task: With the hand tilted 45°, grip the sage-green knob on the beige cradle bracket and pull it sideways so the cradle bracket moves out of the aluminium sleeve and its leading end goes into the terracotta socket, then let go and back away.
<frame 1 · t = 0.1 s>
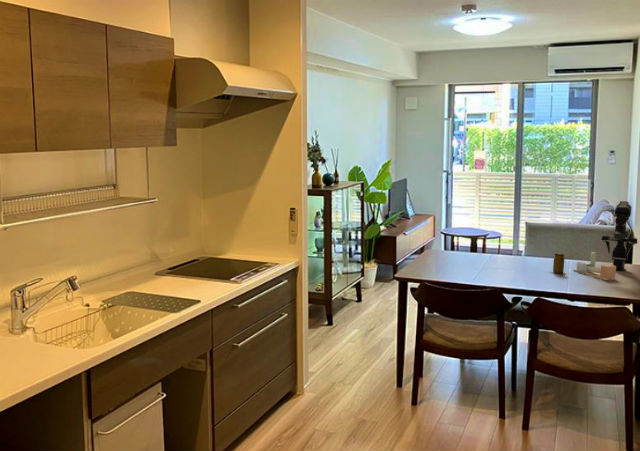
hand: (617, 254, 364), 15 cm above the table, tool pointing down, fingers open, 9 cm apart
condiment: (559, 273, 384), on the table
base rail: (593, 275, 380), on the table
beige cradle bracket: (591, 261, 381), point 8 cm above the table, slide at 0.0 cm
sleeve: (584, 272, 387), resting on base rail
socket: (607, 278, 370), resting on base rail
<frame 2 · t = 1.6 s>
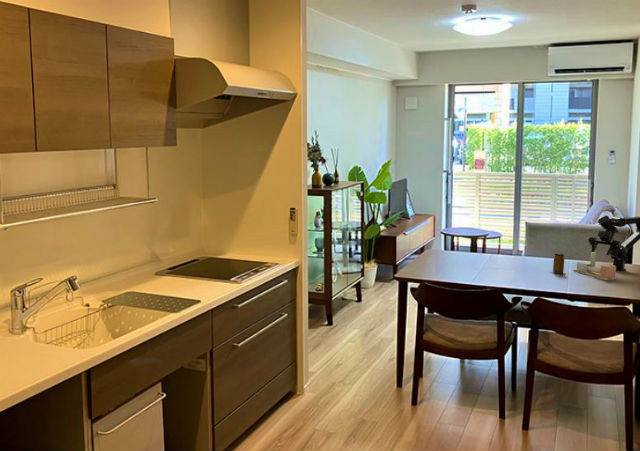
hand: (599, 254, 383), 12 cm above the table, tool tilted 45°, fingers open, 9 cm apart
nothing on the table moved.
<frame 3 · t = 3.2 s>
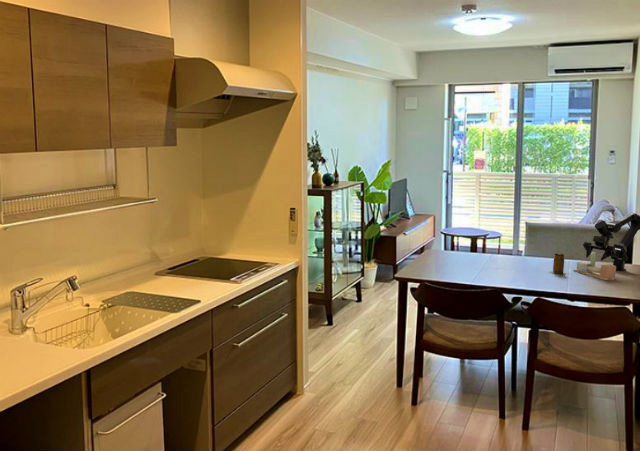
hand: (593, 259, 380), 9 cm above the table, tool tilted 45°, fingers open, 9 cm apart
nothing on the table moved.
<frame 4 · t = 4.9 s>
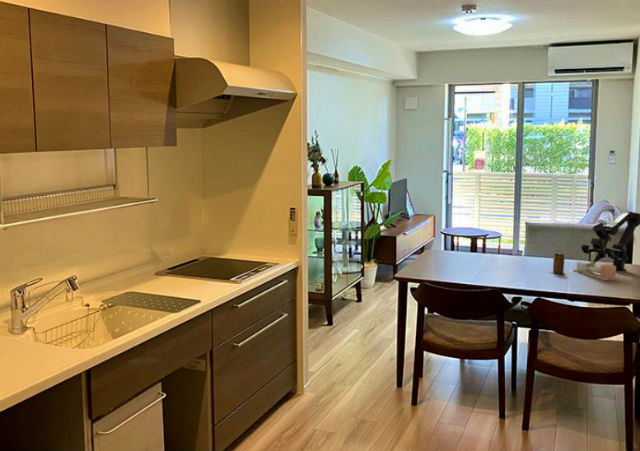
hand: (591, 261, 379), 8 cm above the table, tool tilted 45°, fingers closed on beige cradle bracket, 3 cm apart
beige cradle bracket: (591, 261, 381), point 8 cm above the table, slide at 0.0 cm, touching gripper
everything else where it was.
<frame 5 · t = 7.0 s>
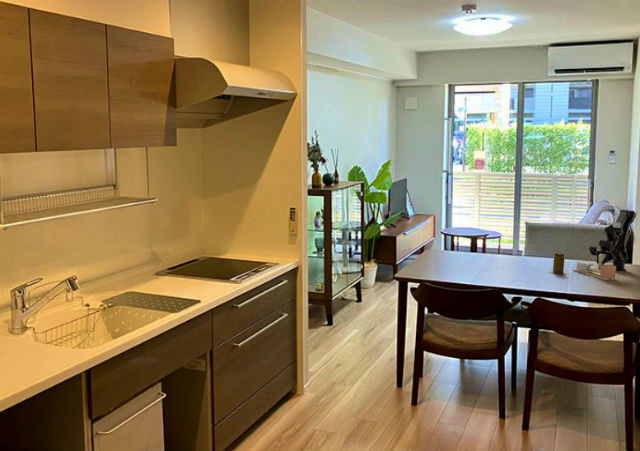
hand: (599, 263, 374), 8 cm above the table, tool tilted 45°, fingers closed on beige cradle bracket, 3 cm apart
beige cradle bracket: (599, 263, 376), point 8 cm above the table, slide at 6.1 cm, touching gripper
everything else where it was.
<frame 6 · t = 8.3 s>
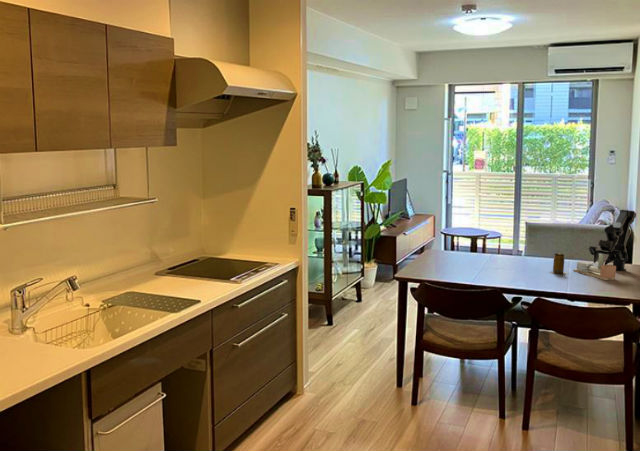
hand: (599, 263, 374), 8 cm above the table, tool tilted 45°, fingers open, 6 cm apart
beige cradle bracket: (599, 263, 376), point 8 cm above the table, slide at 6.1 cm
everything else where it was.
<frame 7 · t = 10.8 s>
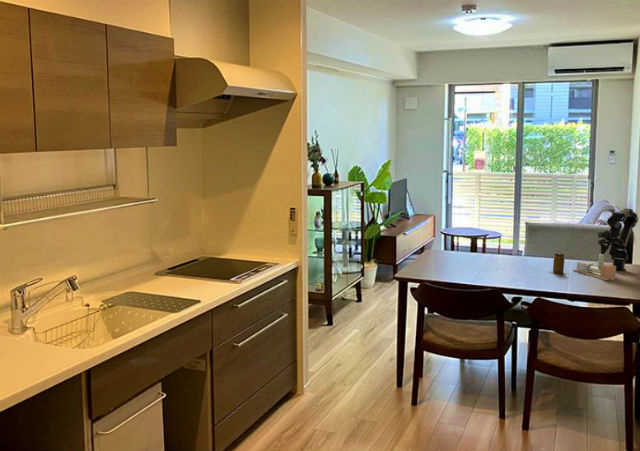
hand: (605, 254, 381), 12 cm above the table, tool tilted 25°, fingers open, 9 cm apart
nothing on the table moved.
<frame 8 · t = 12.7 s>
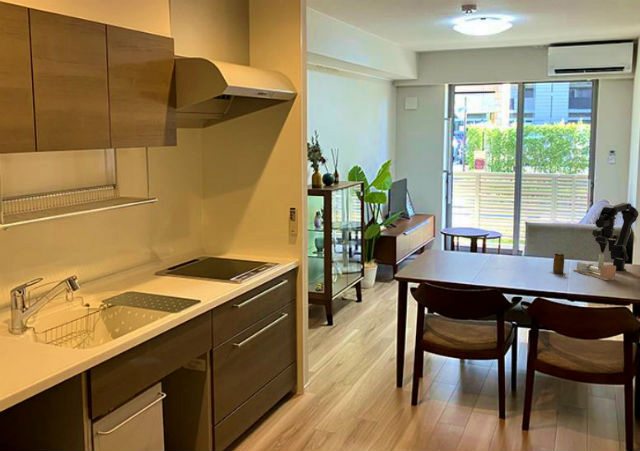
hand: (606, 251, 385), 13 cm above the table, tool pointing down, fingers open, 9 cm apart
nothing on the table moved.
at the end: beige cradle bracket slide at 6.1 cm; the gripper is holding nothing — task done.
